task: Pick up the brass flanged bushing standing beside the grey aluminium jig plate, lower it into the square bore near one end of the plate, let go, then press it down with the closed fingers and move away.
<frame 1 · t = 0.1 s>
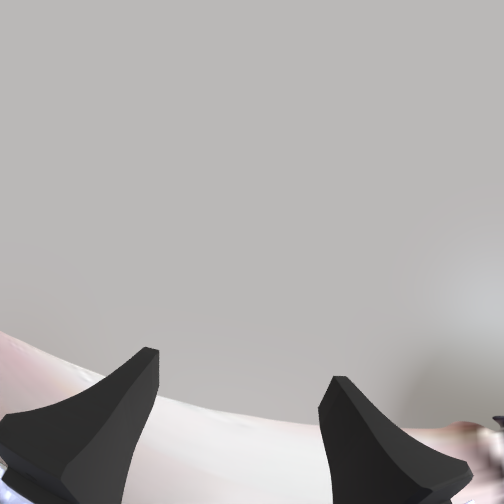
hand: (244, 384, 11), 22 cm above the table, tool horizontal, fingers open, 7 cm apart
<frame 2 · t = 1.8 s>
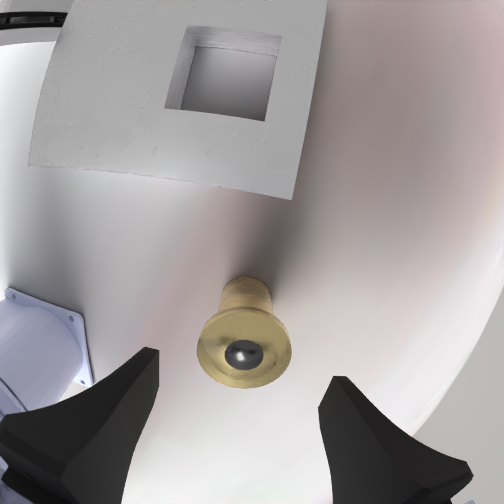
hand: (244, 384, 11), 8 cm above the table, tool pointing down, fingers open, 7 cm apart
bushing: (246, 299, 18), on the table
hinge: (21, 27, 12), on the table
jig: (171, 79, 14), on the table
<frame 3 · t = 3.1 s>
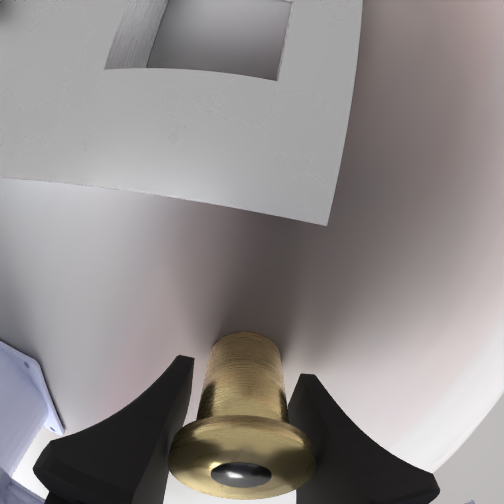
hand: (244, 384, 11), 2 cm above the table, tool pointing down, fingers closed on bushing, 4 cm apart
bushing: (244, 361, 12), on the table, touching gripper
jig: (133, 38, 8), on the table
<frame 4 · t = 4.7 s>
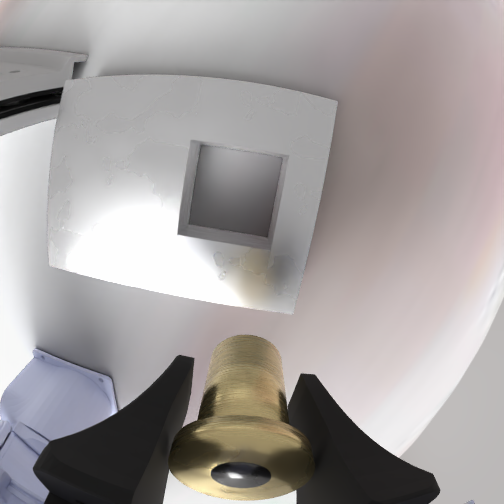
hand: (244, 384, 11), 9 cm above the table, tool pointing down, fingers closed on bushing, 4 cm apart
bushing: (246, 363, 12), point 7 cm above the table, touching gripper
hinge: (14, 88, 14), on the table
jig: (178, 182, 17), on the table
when the fingers open (4 cm above the table, at t = 6.5 s): bushing drops 2 cm, resting in jig.
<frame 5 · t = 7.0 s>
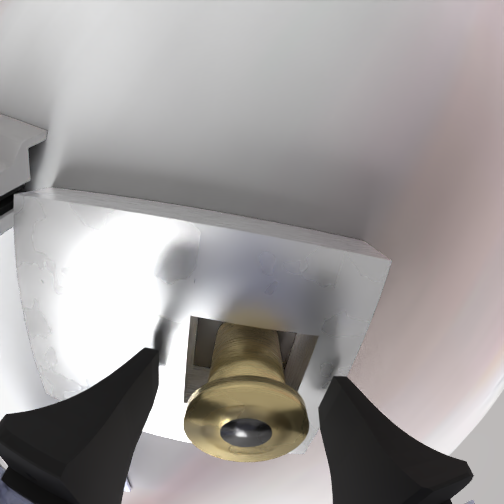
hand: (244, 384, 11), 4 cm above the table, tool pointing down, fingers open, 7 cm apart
bushing: (247, 341, 14), resting in jig
jig: (178, 324, 14), on the table
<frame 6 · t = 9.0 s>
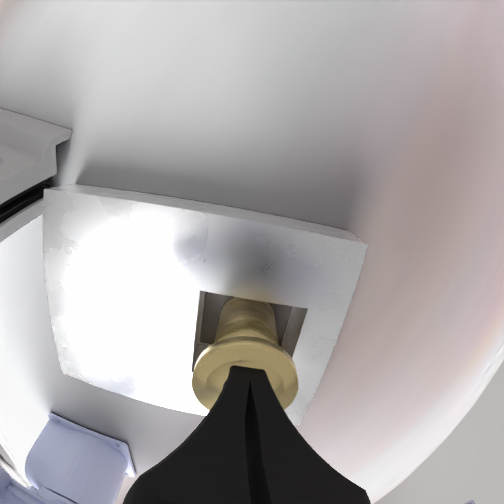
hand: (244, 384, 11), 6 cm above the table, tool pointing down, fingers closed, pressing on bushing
bushing: (247, 318, 16), resting in jig, touching gripper
jig: (187, 304, 16), on the table
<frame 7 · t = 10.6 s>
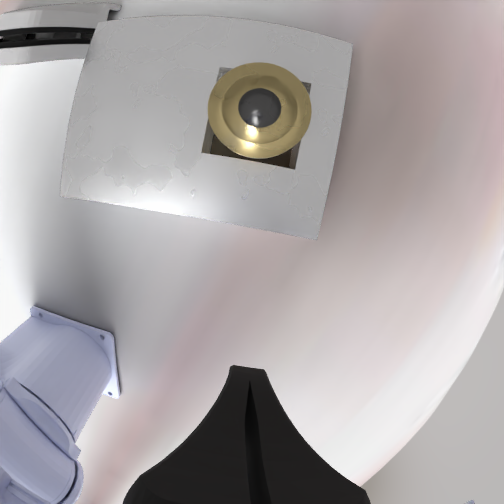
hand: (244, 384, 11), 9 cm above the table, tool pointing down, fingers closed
bushing: (257, 127, 17), resting in jig
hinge: (40, 42, 14), on the table
jig: (201, 115, 16), on the table
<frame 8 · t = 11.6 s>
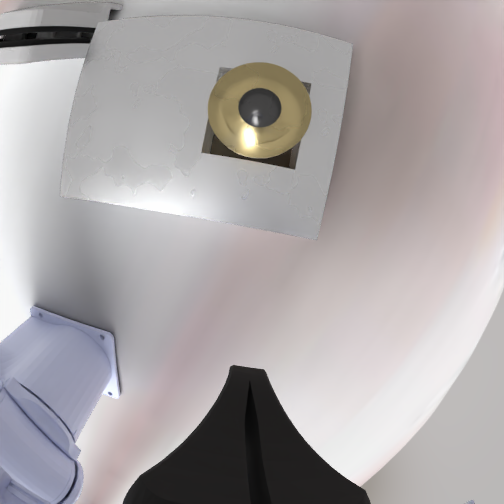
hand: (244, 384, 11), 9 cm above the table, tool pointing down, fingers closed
bushing: (257, 127, 17), resting in jig
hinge: (40, 42, 14), on the table
jig: (201, 115, 16), on the table
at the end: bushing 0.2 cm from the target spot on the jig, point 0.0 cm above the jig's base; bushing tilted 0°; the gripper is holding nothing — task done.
